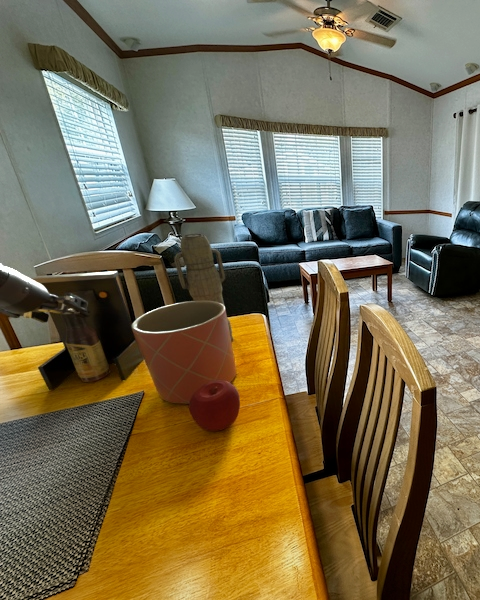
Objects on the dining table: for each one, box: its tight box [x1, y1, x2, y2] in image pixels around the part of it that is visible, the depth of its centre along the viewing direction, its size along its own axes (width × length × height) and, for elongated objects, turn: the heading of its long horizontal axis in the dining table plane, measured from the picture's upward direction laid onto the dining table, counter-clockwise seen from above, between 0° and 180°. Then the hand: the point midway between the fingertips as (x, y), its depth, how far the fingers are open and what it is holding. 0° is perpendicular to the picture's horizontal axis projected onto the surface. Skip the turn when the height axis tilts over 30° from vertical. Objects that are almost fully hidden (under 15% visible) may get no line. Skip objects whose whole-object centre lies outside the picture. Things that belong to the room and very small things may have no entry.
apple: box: [188, 380, 241, 432], centre depth 71 cm, size 10×10×10 cm
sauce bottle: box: [61, 308, 111, 383], centre depth 86 cm, size 6×6×20 cm
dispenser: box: [30, 270, 145, 391], centre depth 86 cm, size 12×18×27 cm, turn 104°
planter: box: [132, 300, 237, 405], centre depth 82 cm, size 19×19×20 cm
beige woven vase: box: [173, 233, 234, 343], centre depth 100 cm, size 9×12×35 cm
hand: (67, 317), depth 81 cm, fingers open, 8 cm apart
